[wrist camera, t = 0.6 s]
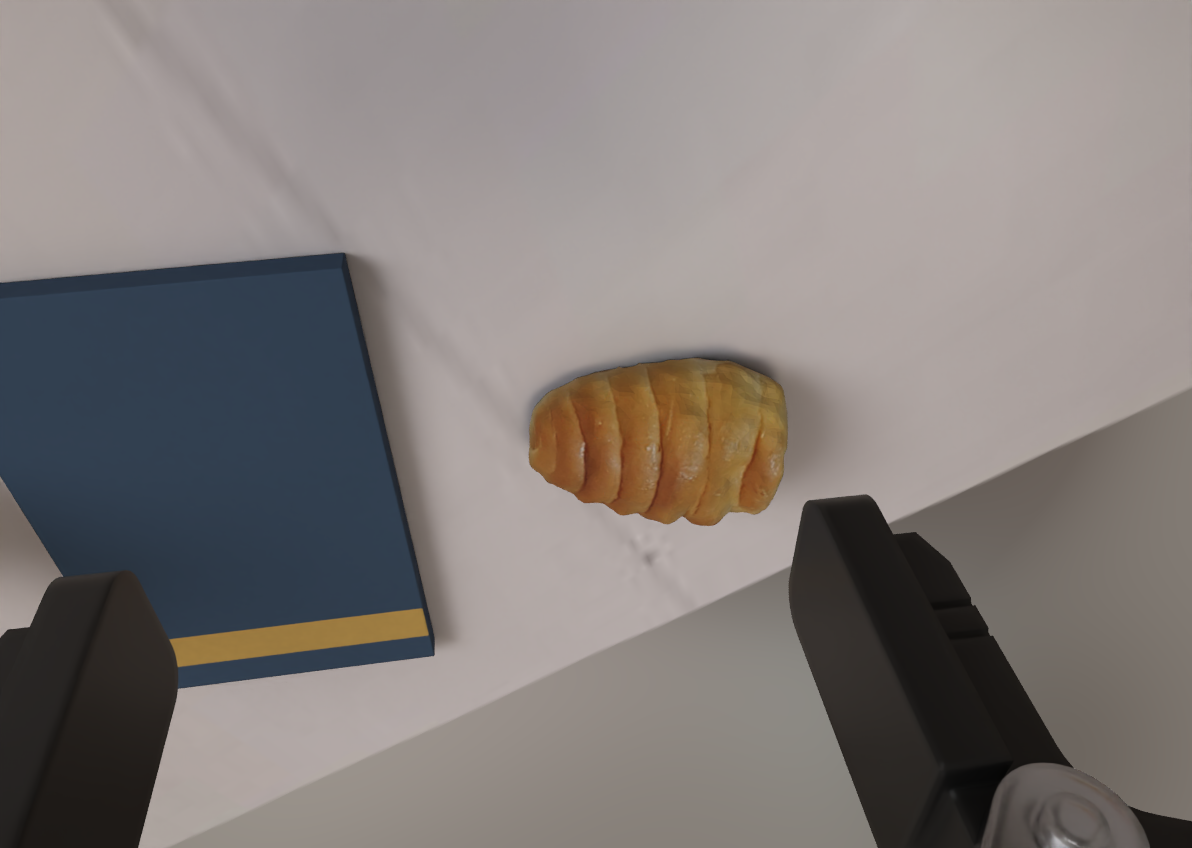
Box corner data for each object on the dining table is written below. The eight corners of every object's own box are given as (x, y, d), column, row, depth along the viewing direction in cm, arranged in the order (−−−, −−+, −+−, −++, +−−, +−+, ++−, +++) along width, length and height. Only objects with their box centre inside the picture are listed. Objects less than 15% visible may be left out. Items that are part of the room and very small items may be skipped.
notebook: (-91, 290, 27) (-107, 308, 26) (344, 252, 28) (341, 268, 27) (142, 675, 40) (136, 694, 39) (434, 638, 41) (434, 656, 40)
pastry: (520, 483, 36) (527, 554, 33) (533, 341, 31) (543, 408, 29) (745, 482, 37) (771, 549, 34) (786, 348, 33) (819, 412, 30)
